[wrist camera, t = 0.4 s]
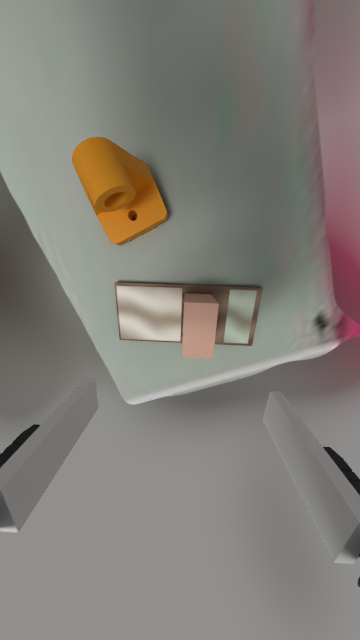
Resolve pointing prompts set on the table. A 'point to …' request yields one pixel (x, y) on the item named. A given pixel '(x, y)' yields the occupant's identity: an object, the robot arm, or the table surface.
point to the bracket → (118, 189)
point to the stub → (199, 325)
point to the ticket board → (168, 311)
